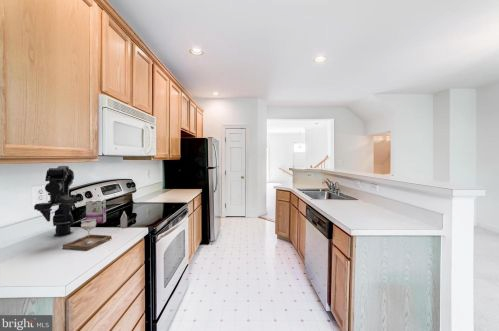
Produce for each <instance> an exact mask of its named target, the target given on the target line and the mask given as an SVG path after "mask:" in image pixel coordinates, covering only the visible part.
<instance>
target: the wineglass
mask: <svg viewBox="0 0 499 331" xmlns="http://www.w3.org/2000/svg"><path fill="white" fill-rule="evenodd" d="M80 222H81V224H80V227H81V229H82V230H84V231H86V232H87V235H88V240H89V237H90V232H91V230H93V229H95V227H96V226H97V224H96V219H87V220H86V219H83V220H80ZM93 242H95V241H87V242H84V243H83V244H90V243H93Z"/></svg>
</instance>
